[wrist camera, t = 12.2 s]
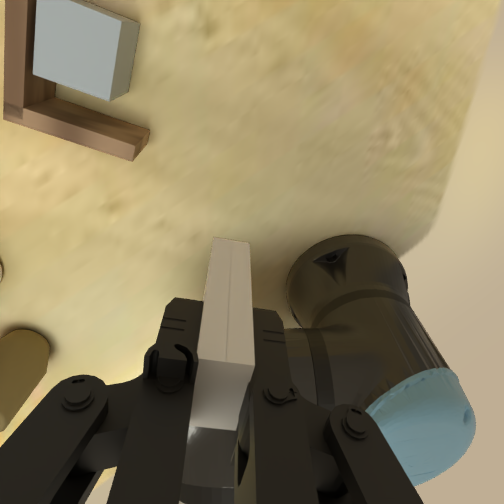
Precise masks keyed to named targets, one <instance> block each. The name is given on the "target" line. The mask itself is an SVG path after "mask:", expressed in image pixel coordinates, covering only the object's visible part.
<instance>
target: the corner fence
mask: <svg viewBox="0 0 504 504" xmlns="http://www.w3.org/2000/svg"><path fill="white" fill-rule="evenodd" d="M36 5H37V0H5V49H4V110H3V119H4V120H7V121H10V122H13V123H16V124H19V125H22V126H25V127H28V128H31V129H34V130H37V131H40V132H43V133H46V134H49V135H52V136H55V137H58V138H61V139H64V140H68V141H71V142H74V143H77V144H80V145H83V146H86V147H89V148H92V149H95V150H98V151H101V152H104V153H107V154H110V155H113V156H116V157H119V158H122V159H125V160H128V161H131V162H132V161H133V160H134V159H135V158H136V157H137V156H138V154H139V153H140V152H141V151H142V150H143V148H144V147H145V146H146V145H147V142H148V137H149V132H150V130H147V129H144V128H141V127H139V126H136V125H133V124H130V123H127V122H124V121H121V120H118V119H116V118H113V117H110V116H107V115H104V114H101V113H98V112H96V111H93V110H90V109H87V108H84V107H81V106H78V105H75V104H73V103H70V102H67V101H64V100H61V99H58V98H55V89H56V82H53V81H50V80H47V79H45V78H42V77H39V76H36V75H33V61H34V42H35V24H36Z"/></svg>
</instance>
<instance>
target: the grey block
mask: <svg viewBox="0 0 504 504" xmlns="http://www.w3.org/2000/svg"><path fill="white" fill-rule="evenodd" d="M139 28H140V23H138V22H135V21H133V20H130V19H128V18H126V17H123V16H121V15H118V14H116V13H113V12H111V11H108V10H106V9H103V8H101V7H99V6H96V5H94V4H91V3H89V2H86V1H84V0H37V5H36V24H35V42H34V61H33V75H36V76H39V77H42V78H45V79H47V80H50V81H53V82H56V83H59V84H61V85H64V86H67V87H70V88H73V89H75V90H78V91H81V92H84V93H87V94H89V95H92V96H95V97H98V98H100V99H103V100H106V101H111V100H113V99H115V98H117V97H119V96H121V95H123V94H125V93H127V92H128V90H129V85H130V79H131V73H132V68H133V62H134V56H135V51H136V45H137V39H138V34H139Z"/></svg>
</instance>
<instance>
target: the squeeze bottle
mask: <svg viewBox="0 0 504 504" xmlns="http://www.w3.org/2000/svg"><path fill="white" fill-rule="evenodd" d="M48 358H49V344H48V342H47V340H46V339H45V338H44V337H42V336H41V335H40V334H38V333H36V332H33V331H30V330H24V329H21V330H14V331H12V332H10V333H9V334H7V335H5V336H4V337H2V338H1V339H0V432H2V431H4V430H5V428H6V427H7V426H8V424H9V423H10V422H11V420H12V419H13V418H14V416H15V415H16V413H17V412H18V411H19V409H20V408H21V407H22V405H23V404H24V402H25V401H26V400H27V398H28V397H29V396H30V394H31V393H32V391H33V390H34V389H35V387H36V386H37V385H38V383H39V382H40V381H41V379H42V378H43V376H44V375H45V374H46V372H47V365H48Z"/></svg>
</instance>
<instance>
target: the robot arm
mask: <svg viewBox="0 0 504 504" xmlns="http://www.w3.org/2000/svg"><path fill="white" fill-rule="evenodd" d="M407 289H408V283H407V276H406V273H405V270H404V268H403V266H402V264H401V262H400V261H399V259H398V258H397V257H396V255H395V254H394V252H393V251H392V250H391V249H390V248H389V247H388V246H386V245H385V244H384V243H382V242H380V241H378V240H376V239H373V238H370V237H366V236H360V235H344V236H338V237H334V238H330V239H327V240H325V241H322V242H320V243H318V244H316V245H314V246H313V247H311V248H310V249H308V250H307V251H306V252H305V253H304V254H302V255H301V256H300V258H299V259H298V260H297V261H296V262H295V264H294V265H293V267H292V269H291V271H290V273H289V275H288V279H287V283H286V294H287V300H288V305H289V309H290V311H291V314H292V316H293V317H294V319H295V320H296V322H297V323H298V324H299V325H300V326H301V327H302V328H293V329H284V327H283V321H282V320H281V318H280V317H279V315H278V314H277V312H276V311H272V310H265V309H258V308H252V287H251V265H250V243H247V242H241V241H235V240H229V239H223V238H217V237H213V243H212V249H211V255H210V260H209V266H208V272H207V278H206V283H205V289H204V296H203V301H197V300H190V299H183V298H176V297H175V298H174V299H173V300H172V301H171V302H170V303H169V304H168V305H167V306H166V308H165V312H164V315H163V319H162V322H161V326H160V330H159V333H158V337H157V340H156V343H155V344H154V345H153V346H151V347H150V348H149V349H148V351H147V352H146V354H145V356H144V368H143V373H142V374H141V375H140V376H138V377H137V378H135V379H133V380H131V381H127V382H124V383H118V384H112V385H105V383H104V382H103V380H101V379H99V378H97V377H95V376H91V375H77V376H72V377H69V378H67V379H65V380H62V381H61V382H59V383H58V384H57V385H56V386H55V387H53V388H52V389H51V390H50V392H49V393H48V394H47V395H46V396H45V397H44V398H43V399H42V401H41V402H40V403H39V404H38V405H37V406H36V407H35V409H34V410H33V411H32V412H31V413H30V414H29V415H28V416H27V418H26V419H25V420H24V421H23V422H22V423H21V424H20V426H19V427H18V428H17V429H16V430H15V431H14V432H13V433H12V435H11V436H10V437H9V438H8V439H7V440H6V441H5V443H4V444H3V445H2V446H1V447H0V504H85V502H86V500H87V498H88V497H89V495H90V493H91V491H92V490H93V488H94V486H95V484H96V483H97V481H98V479H99V478H100V476H101V474H102V472H103V471H104V469H108V468H112V467H116V466H117V469H116V473H115V476H114V480H113V483H112V487H111V490H110V494H109V497H108V501H107V504H423V502H422V500H421V498H420V496H419V495H418V493H417V491H416V490H415V488H414V486H417V485H419V484H422V483H424V482H426V481H428V480H430V479H432V478H435V477H436V476H438V475H439V474H441V473H442V472H444V471H446V470H447V469H448V468H450V467H451V466H453V464H455V463H456V462H457V461H458V460H459V459H460V458H461V457H462V456H463V455H464V454H465V452H466V451H467V449H468V448H469V446H470V444H471V442H472V440H473V438H474V435H475V429H476V422H475V415H474V412H473V409H472V407H471V405H470V403H469V401H468V399H467V397H466V395H465V393H464V391H463V389H462V387H461V386H460V384H459V379H458V377H457V376H456V374H455V373H454V372H453V371H452V370H451V369H450V368H449V366H448V365H447V363H446V362H445V360H444V358H443V357H442V355H441V354H440V352H439V351H438V349H437V347H436V346H435V344H434V343H433V341H432V340H431V338H430V336H429V335H428V333H427V332H426V330H425V329H424V327H423V325H422V324H421V322H420V321H419V319H418V318H417V316H416V315H415V313H414V311H413V310H412V308H411V307H410V300H409V294H408V292H407Z"/></svg>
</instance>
